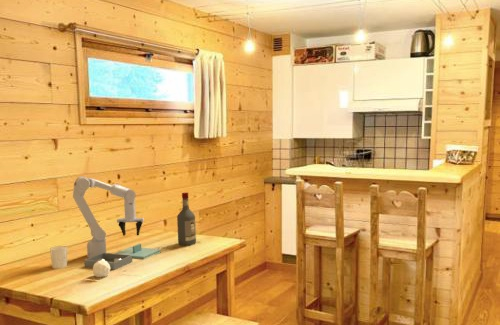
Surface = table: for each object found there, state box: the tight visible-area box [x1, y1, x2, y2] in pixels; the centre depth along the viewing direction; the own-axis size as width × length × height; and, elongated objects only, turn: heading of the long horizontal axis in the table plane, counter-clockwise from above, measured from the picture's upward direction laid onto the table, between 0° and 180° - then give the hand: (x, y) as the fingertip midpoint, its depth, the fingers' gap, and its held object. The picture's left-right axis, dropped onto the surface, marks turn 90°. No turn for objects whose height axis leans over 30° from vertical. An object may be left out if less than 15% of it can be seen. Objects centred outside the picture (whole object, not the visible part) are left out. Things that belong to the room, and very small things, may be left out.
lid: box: [114, 243, 161, 260], centre depth 248 cm, size 19×15×5 cm
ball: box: [92, 260, 111, 278], centre depth 211 cm, size 8×8×8 cm
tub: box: [83, 252, 133, 271], centre depth 229 cm, size 18×14×4 cm
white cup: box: [49, 245, 68, 269], centre depth 228 cm, size 8×8×10 cm
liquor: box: [176, 192, 197, 247], centre depth 268 cm, size 9×9×30 cm
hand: (131, 235), depth 254 cm, fingers open, 7 cm apart
